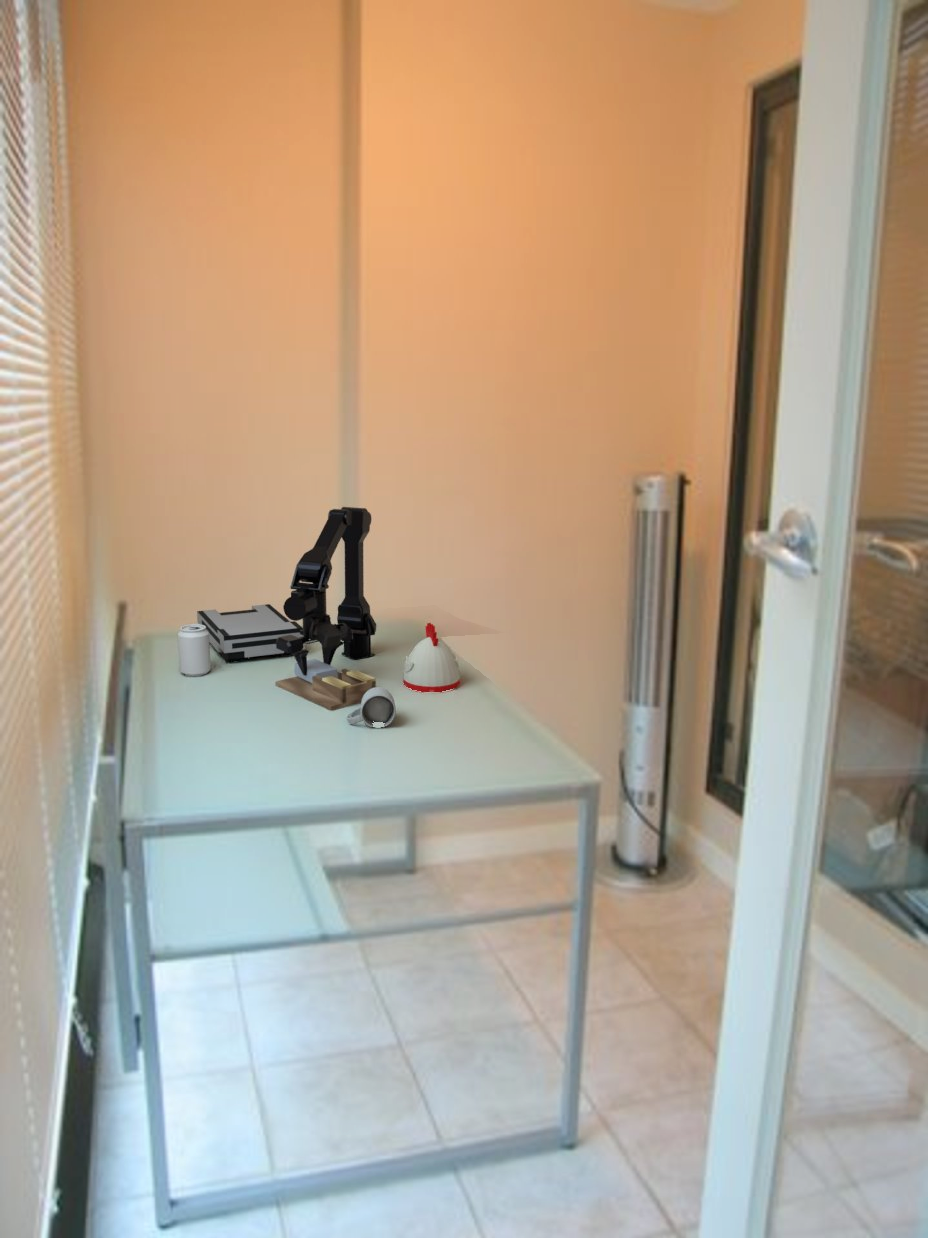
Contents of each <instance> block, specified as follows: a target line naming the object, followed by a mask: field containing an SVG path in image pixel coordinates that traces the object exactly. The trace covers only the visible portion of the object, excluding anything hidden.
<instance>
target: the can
mask: <svg viewBox="0 0 928 1238" xmlns="http://www.w3.org/2000/svg"><path fill="white" fill-rule="evenodd" d="M177 643H178V660H179V661H178V663H179V671H180V673H182V674H183V675H184V674H185V675H184V676H186V677H201V676H204V675H206V674H208V673H209V672H210V671H211V669H212V667H211V666H212V665H211V649H210V647H211V644H210V643H209V632H208V631H207V630H206V626H204V625H201V624H198V623H192V624H191V623H190V624H185V625H182V626H180V627H179V632H178V633H177Z"/></svg>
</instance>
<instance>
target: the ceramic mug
mask: <svg viewBox="0 0 928 1238" xmlns="http://www.w3.org/2000/svg"><path fill="white" fill-rule="evenodd" d="M396 712H397V709H396V704H395V700H394V696H393V695H392V693H391V692H390V690H388V689H386V688H383V687H381V686H376V687H375V688H372V689H369V690H368V691H367V692H366V693H365V694H364V696H363V698H362V701H361V703H360V707H357V708H355V709H354V710H352V711H351V712H348V714H347V716H346V720H347V723H348V724H349V723H350V724H349V725H356V724H358V723H362V722H363V723H365V725H366V726H368V727H369V728H372V727H373V724H372V723H374V722H383V723H385V724H384V726H386V727H387V726H390V724H391V723H392V722H393V721H394V719H395V717H396V714H397V713H396ZM373 721H374V722H373Z"/></svg>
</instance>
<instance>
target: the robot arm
mask: <svg viewBox="0 0 928 1238" xmlns="http://www.w3.org/2000/svg"><path fill="white" fill-rule="evenodd" d="M371 524H372V514H371V513H370V512H369V511H368V509H367V508H366V507H351V506H342V507H341V509H340V508H333V509H329V512H328V513H327V520H326V522H325V524H324V526H323V528H322V530H321V531H320V534H319V535H318V537H317V540H316V542H315V543H314V545H313V547H312V548H310V550H308V551H306V552H304V553H303V555H302V556H301V557H300V558H299V561H298V562H297V564H296V567H295V570H294V573H293V577H292V581H291V585H290V587H289V588H290V589H291V590H292V591H290V596H289V597H288V598H287V599H285V602H284V603H283V606H282V607H283V612H284V614H285V616H286V617H287V619H288V620H289V619H290V621H295V622H297V621H300V620H302V627H303V630H300V634H301V635H303V637H300V638H298V637H295V636H293V635H287V636H282V637H279V638H278V639H277V641H276V648H277V649H279V650H282V651H284V652H286V653H292V655H291V656H293V657H294V659H295V662H296V663H298V665H299V667H300V669H301V672H302V674H303V675H305V676H306V675H307V660H308V659H307V658H308V657H307V656H308V654H309V652H310V650H308V649H306V645H308V644H309V645H310V644H314V643H320V645H321V651H322V662H324V663H326V664H328V665H330V666H332V665H331V664H332V662H333V658H334V656H335V653H336V651H337V649H338V648H340V646H343V652H341V655H342V656H344V657H346V658H347V657H348V658H350V659H352V660H361V659H365V658H369V657H374V656H375V653H374V652H372V648H371V647H372V646H371V645H372V643H371V642H372V637H371V636H375V635H376V632H377V623H376V621H375V620H374V617H373V616H372V614H371V605H370V604H369V602H368V601H367V599H366V597H365V595H364V586H365V585H364V541H365V539H366V538H367V536H368V534H369V533H370V532H371V531H370V528H371ZM341 540H342V541H343V542H344V543H343V544H344V598H343V600H342V602H341V603H340V604H338V606H337V616H336V618H337V619H336V620H337V623H332V621H331V614H327V613H328V612H327V589H329V587H330V586H329V585H328V583H329V580H330V577H331V575H332V570H333V565H332V562H331V560H332V558H333V556H334V553H335V552H336V549H337V548H338V545H339V543H340V542H341Z"/></svg>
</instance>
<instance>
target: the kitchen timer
mask: <svg viewBox="0 0 928 1238" xmlns="http://www.w3.org/2000/svg"><path fill="white" fill-rule="evenodd" d="M424 626H425V625H424ZM437 634H438V633H437V631H436V626H435V625H434V624H433V623H432V622H427V624H426V626H425V635H426V637H425V638H423V639H422V640H420V641H419V642H418V643H417V644H416V645H415V646H414V647H413V649H412V651H411V652H410V654H409V656H408V655H406V656H405V659H404V666H403V676H402V678H403V679H402V684H403V683H404V684H403V686H404V685H405V686H406V687H408V688H411V689H412V690H417V691H421V692H420V693H424V692H440V693H443V692H442V691H446V690H450V689H453V688H456V687H457V688H459V687H458V685H459V684H460V685H461V675H460V666H459V660H458V657H457V656H456V655H455V653H454V652H453V651H452V649H451V648H450V646H448V645H447V643H446V642H445V641H443V640H442V639H441V638H438V637H437ZM460 685H459V686H460ZM405 686H404V687H405ZM406 687H405V688H406ZM457 688H456V689H457ZM412 690H411V691H412ZM417 691H416V692H417Z"/></svg>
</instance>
